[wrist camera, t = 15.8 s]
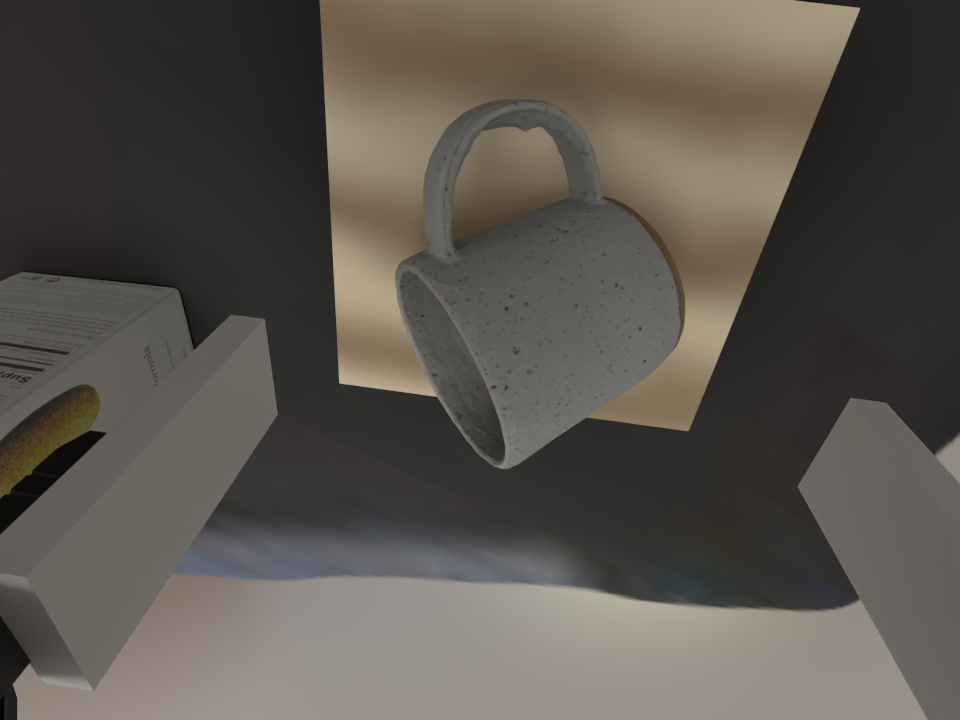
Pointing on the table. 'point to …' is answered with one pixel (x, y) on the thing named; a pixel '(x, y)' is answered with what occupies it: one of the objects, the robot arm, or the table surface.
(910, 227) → the table surface
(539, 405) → the ceramic mug
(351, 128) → the square wooden tile
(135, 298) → the supplement box
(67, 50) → the table surface
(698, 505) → the table surface
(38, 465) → the robot arm
